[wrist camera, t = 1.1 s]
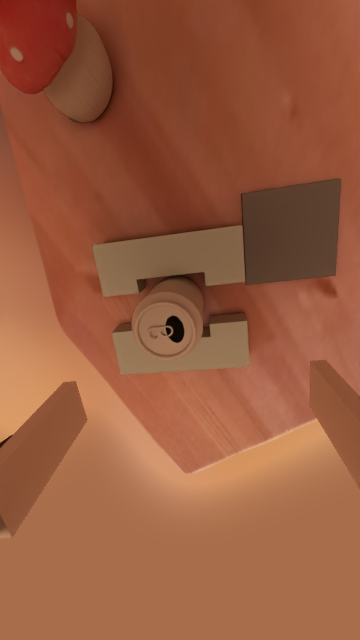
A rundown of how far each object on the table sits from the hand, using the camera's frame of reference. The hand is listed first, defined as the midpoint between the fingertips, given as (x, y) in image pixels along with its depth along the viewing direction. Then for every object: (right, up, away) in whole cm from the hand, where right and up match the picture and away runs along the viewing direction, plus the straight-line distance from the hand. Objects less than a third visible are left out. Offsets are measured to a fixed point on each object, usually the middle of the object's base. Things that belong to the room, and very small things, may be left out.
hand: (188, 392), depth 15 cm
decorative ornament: (-11, +31, +15) cm, 36 cm away
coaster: (+13, +15, +18) cm, 26 cm away
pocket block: (-1, +7, +22) cm, 23 cm away
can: (-1, +7, +22) cm, 23 cm away
